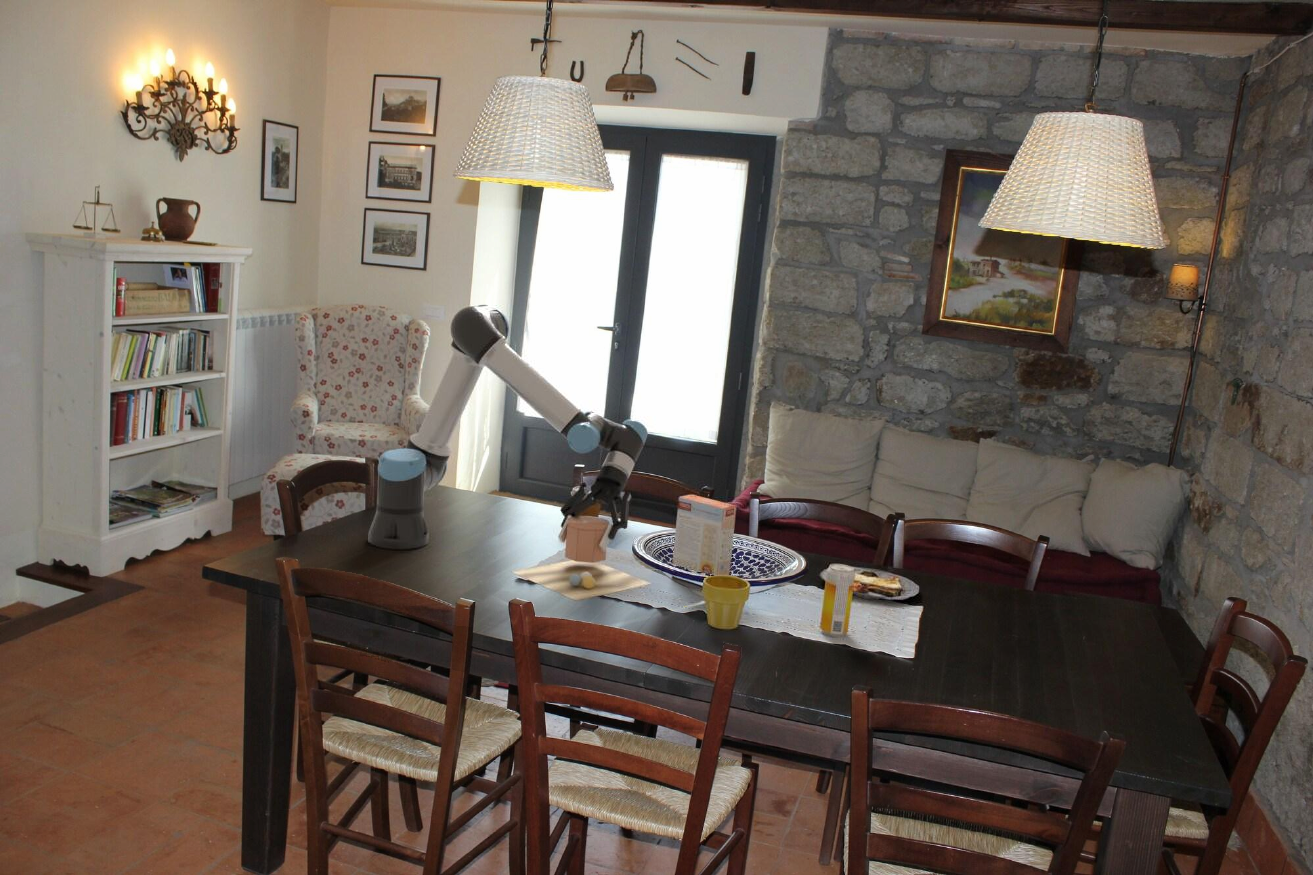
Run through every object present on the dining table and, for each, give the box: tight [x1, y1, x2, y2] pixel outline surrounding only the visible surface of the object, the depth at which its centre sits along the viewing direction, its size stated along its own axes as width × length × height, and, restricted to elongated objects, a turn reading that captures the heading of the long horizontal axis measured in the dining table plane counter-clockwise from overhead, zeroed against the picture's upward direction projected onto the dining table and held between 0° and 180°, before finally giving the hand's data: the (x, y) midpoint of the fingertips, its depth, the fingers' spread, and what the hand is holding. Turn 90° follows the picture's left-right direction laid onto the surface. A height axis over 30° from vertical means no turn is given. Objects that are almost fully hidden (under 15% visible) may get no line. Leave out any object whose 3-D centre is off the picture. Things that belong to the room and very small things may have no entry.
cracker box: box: [671, 494, 737, 576], centre depth 245 cm, size 14×6×21 cm, turn 50°
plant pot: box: [701, 575, 751, 630], centre depth 217 cm, size 10×10×10 cm
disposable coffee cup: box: [570, 485, 602, 517], centre depth 284 cm, size 10×10×12 cm
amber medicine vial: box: [819, 563, 855, 638], centre depth 218 cm, size 6×6×15 cm
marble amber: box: [582, 576, 595, 589], centre depth 232 cm, size 3×3×3 cm
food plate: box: [818, 566, 920, 601], centre depth 255 cm, size 25×23×4 cm
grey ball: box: [569, 574, 582, 587], centre depth 233 cm, size 3×3×3 cm
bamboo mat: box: [511, 559, 652, 602], centre depth 240 cm, size 24×24×1 cm
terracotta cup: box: [564, 516, 610, 563], centre depth 247 cm, size 10×10×9 cm
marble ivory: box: [580, 572, 592, 583], centre depth 235 cm, size 3×3×3 cm
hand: (581, 544), depth 244 cm, fingers closed on terracotta cup, 11 cm apart
